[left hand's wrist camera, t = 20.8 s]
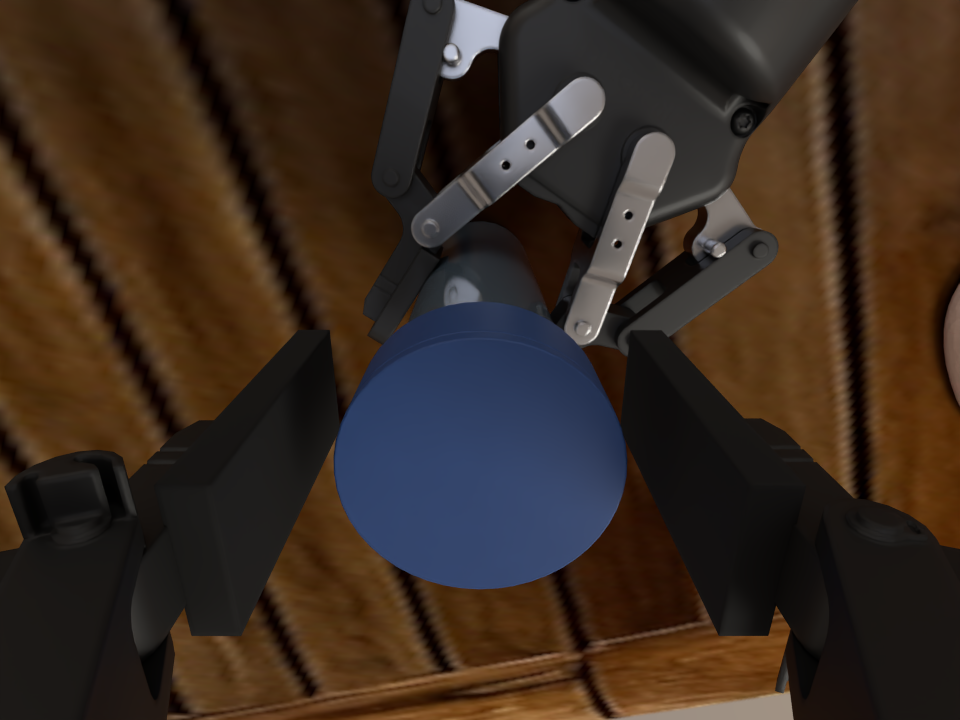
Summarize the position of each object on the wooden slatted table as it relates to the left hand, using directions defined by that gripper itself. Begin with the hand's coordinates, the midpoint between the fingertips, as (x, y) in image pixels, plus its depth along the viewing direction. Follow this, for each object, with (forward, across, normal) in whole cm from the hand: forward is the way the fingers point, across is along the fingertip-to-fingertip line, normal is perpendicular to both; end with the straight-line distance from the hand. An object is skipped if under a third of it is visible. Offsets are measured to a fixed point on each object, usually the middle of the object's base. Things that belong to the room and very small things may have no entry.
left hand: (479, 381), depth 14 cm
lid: (-4, 0, 0) cm, 4 cm away
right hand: (+6, -1, -2) cm, 7 cm away
